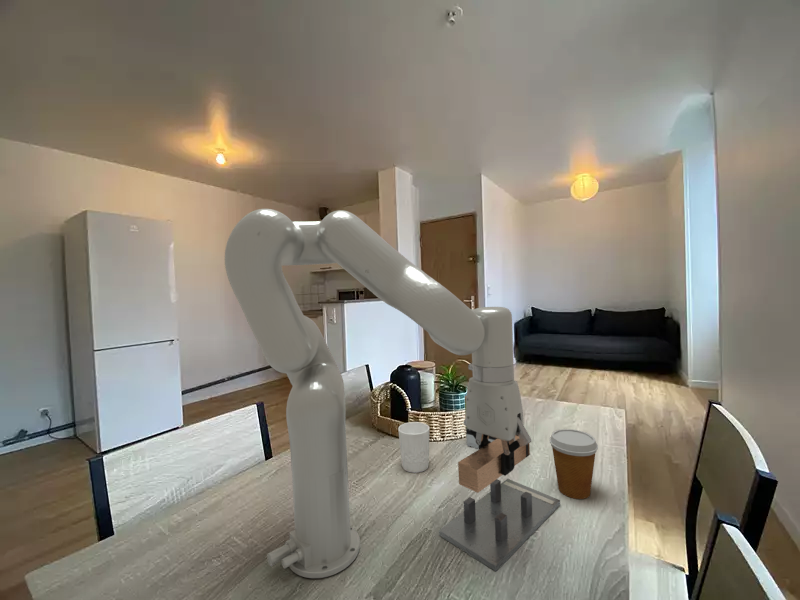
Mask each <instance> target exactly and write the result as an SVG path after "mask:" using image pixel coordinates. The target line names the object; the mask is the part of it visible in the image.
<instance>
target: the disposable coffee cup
mask: <svg viewBox="0 0 800 600" xmlns="http://www.w3.org/2000/svg"><path fill="white" fill-rule="evenodd" d="M550 435H551V436H550V437H549V443H550V445H551V448H552V449H551V450H552V454H553V460H554V461H553V463H554V468H555V474H556V481H557V489H558V491H559V492H560V493H561V494H562V495H563V496H565V497H568V498H571V499H576V500H584V499H587V498H589V497H591V491H592V482H593V477H594V476H593V474H594V467H595V460H596V453H597V451H598V449H599V445H598V442H597V441H596V438H595V437H594V436H593V435H592V434H590V433H587V432H584V431H582V430H577V429H571V428H566V429H565V428H563V429H556V430H554V431H552V432H551V434H550Z"/></svg>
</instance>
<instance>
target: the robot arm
mask: <svg viewBox="0 0 800 600" xmlns="http://www.w3.org/2000/svg"><path fill="white" fill-rule="evenodd" d="M329 264H330V265H331V264H337V265H338V266H340V267H341V268H342V269H343V270H344V271H346V272H347V273H348V274H350V276H352V277H353V278H354V279H355V280H357V281H358V282H359V283H360V284H361V285H362V286H364V288H366V289H367V290H369V292H371V293H372V294H373V295H374V296H376V297H377V298H378V299H380V300H381V301H382V302H384V303H385V304H387V305H388V306H390V307H392V308H393V309H396V310H398V311H399V312H401V313H402V314H404V315H405V316H407V317H408V318H409V319H411V320H412V321H413V322H414V323H416V324H417V325H418V326H420V327H421V328H422V329H423V330H424V331H426V332H427V333H428V335H429V338H430V339H431V340H432V341H433V342H434V343H435V344H437V345H438V346H440V347H442V348H443V349H445V350H446V351H448V352H449V353H452V354H454V355H457V356H468V355H471V361H472V362H470V363H468V365H467V366H468V367H467V368H468V370H469V371H471V373H472V377H469V379H468V384H467V388H466V389H467V390H466V396H467V397H466V418H465V419H464V420H463V425H464V427H465V428H466V427H467V428H468V429H469V430H470V431H471V433H472V435H473V436H474V438H475V439H476V440H475V442H476V444H477V445H479V449H481V448H482V447H484V446H486V445H487V444H489V443H491V441H488V439H489V436H491V437H494V438H497V439H500V440H501V442H502V447H503V452H504V453H502V454H501V470H502V476H505V477H506V476H507V475H508V474H510V473H511V472H513V470H514V469H515V466H516V465H515V464H514V451H515V450H516V449H518V448H519V447H522V446H524V445H527V444H528V443H529V444H530V443H532V437H531V435H530V434H529V433H528V431H527V429H526V427H525V426H524V411H523V410H524V409H523V403H522V397H521V392H520V388H519V384H518V381H516V380H515V370H514V369H515V368H514V366H515V365H514V364H515V363H514V339H513V337H514V336H513V315H512V312H511V310H510V309H509V308H507V307H504V306H485V307H484V306H483V307H477V308H472V309H471V308H470V307H469V306H467V305H466V304H465V303H464V302H463V301H462V300H460V298H459V297H457V296H456V295H455V294H454V293H452V292H451V291H450V290H449V289H448V288H446V287H445V286H444V285H442V284H441V283H440V282H438V281H437V280H436V279H434V278H433V277H431V276H430V275H429V274H427V273H426V272H425V271H424V270H422V268H420V267H418V266H417V265H415V264H414V263H413V262H411V261H410V260H409V259H408V258H406V257H405V256H404V255H402V254H401V253H400V252H399V251H398V250H397V249H396V248H394V247H393V246H392V245H391V244H390V243H388V242H387V241H386V240H385V239H384V238H383V237H382V236H381V235H380V234H378V233H377V231H375V230H374V229H372V227H370V226H369V225H368V224H367V223H366V222H364V221H363V220H362V219H361V218H360V217H358V216H357V215H356V214H354V213H353V212H350V211H348V210H342V209H341V210H340V209H339V210H334V211H332V212H330V213H328V214H327V215H326V216H324V218H323V219H322V220H318V221H317V220H315V221H313V220H312V221H308V220H307V221H300V220H299V221H297V220H296V221H294V220H291V218H289V216H287V215H286V214H285V213H282V212H281V211H279V210H276V209H271V208H259V209H255V210H253V211H251V212H248V213H247V214H245V216H243V217H242V218H241V219H240V220H239V221H238V222H237V223H236V224H235V226H234V227H233V229H232V231H231V232H230V235H229V236H228V239H227V240H226V244H225V250H224V267H225V268H224V269H225V272H226V276H227V279H228V282H229V285H230V287H231V289H232V291H233V294H234V295H235V297H236V300H237V302H238V304H239V305H240V308H241V310H242V313H243V314H244V316H245V320H246V321H247V323H248V325H249V326H248V327H250V329H251V332H252V333H253V336H254V339H255V340H256V341H257V343H258V346H259V349H260V350H261V353H262V355H263V357H264V360H265V361H266V363H267V364H268V365H269V366H270V367H271V368H272V369H274V370H275V371H276V372H279V373H281V374H286V376H287V378H288V379H289V383H290V385H291V386H292V387H291V389H290V391H289V394H288V397H287V401H286V409H285V410H286V411H285V412H286V413H285V414H286V415H285V417H286V425H287V431H288V441H289V449H290V463H291V464H290V466H291V480H292V481H291V482H292V498H293V499H292V500H293V515H294V517H293V518H294V520H293V521H294V529H293V530H291V531H289V539H288V540H286V541H285V542H284V545H282V546H280V547H277V548H275V549H273V550H272V551H270V552H269V553H268V552H267V553H266V554H267V555H266V558H267V563H268V565H269V566H270V567H273V566H274V565H277V563H280V562H281V566H282V568H283V569H287V568H288V567H289V569H290V570H291V571H292V572H293V573H294V574H295V575H298V576H300V577H304V578H308V579H323V578H327V577H328V578H329V577H330V576H331V577H332V576H333V575H336V574H338V573H340V572H342V571H344V570H345V569H347V567H349V566H350V565H351V564H352V563H353V562H354V560H356V559H357V556H358V555H359V553H360V548H361V538H360V534H359V532H358V530H357V529H355V527H353V526H352V525H351V514H350V513H351V511H350V493H349V492H350V491H349V471H348V470H349V469H348V466H349V465H348V451H347V450H348V449H347V433H346V432H347V430H346V427H347V426H346V397H345V396H346V395H345V393H346V392H345V383H344V379H343V375H342V374H341V371H340V368H339V367H338V365H337V362H336V361H335V358H334V357H333V354H332V352H331V350H330V348H329V346H328V344H327V342H326V340H325V337H324V335H323V334H322V332H321V330H320V328H319V326H318V325H317V324H316V322H315V321H314V320H313V319H311V318H310V317H309V316H306V315H304V313H303V311H302V310H301V308H300V306H299V304H298V301H297V300H296V297H295V295H294V292H293V289H292V287H291V286H290V284H289V283H288V281H287V279H286V277H285V275H284V271H283V266H309V265H329ZM516 434H518V436H519V439H517V440H515V435H516ZM479 449H478V450H479Z"/></svg>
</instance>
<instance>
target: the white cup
mask: <svg viewBox="0 0 800 600" xmlns="http://www.w3.org/2000/svg"><path fill="white" fill-rule="evenodd" d="M397 430H398V438H399V439H398V440H399V441H398V442H399V450H400V457H401V458H400V459H401V467H402V469H403V470H405V472H408V473H413V474H415V473H417V474H418V473H421V472H425V471H426V470H428V468H429V465H430V463H429V457H430V425H428V424H427V423H424V422H421V421H420V422H419V421H410V422H405V423H402V424H400V425H399V426H398V428H397Z"/></svg>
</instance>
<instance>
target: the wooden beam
mask: <svg viewBox="0 0 800 600" xmlns="http://www.w3.org/2000/svg"><path fill="white" fill-rule="evenodd" d="M517 439H519V436H518V434H516V435H515V440H517ZM502 453H504V452H503V447H502V442H501V440H500V439H496V440H494V441H492V442H491V443H489V444H487V445H486V446H484V447H482V448H481V449H478V450H476V451H473V453H470V454H469V455H468V456H466V457H464V458H462V459H461V460H459V461H458V462H457V464H458V465H457V466H458V467H457V468H458V484H459V485H460V486H462V487H464V488H467V489H469V490H471V491H473V492H475V493H477V494H479V493H481V491H483V490H484V489H486V488H487V487H488V486H490V484H491V483H492V482H494V481H495V480H496V479H498V480H499V478H500V477H502V476H503V475H502V470H501V454H502ZM530 453H531V451H530V443H528V444H527V445H524V446H522V447H519V448H518V449H516V450H515V451H514V464H515V466H517V465H518V464H519V463H521V462H522V461H523V460H525V459H526V458H528V457H529V456H530V455H531V454H530Z"/></svg>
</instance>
